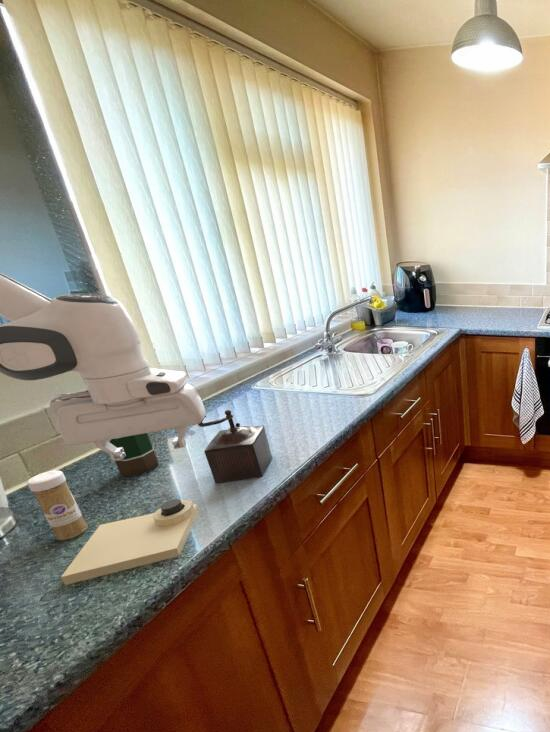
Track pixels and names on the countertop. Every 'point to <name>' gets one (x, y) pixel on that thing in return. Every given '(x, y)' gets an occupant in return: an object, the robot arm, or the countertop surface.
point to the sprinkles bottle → (58, 504)
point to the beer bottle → (136, 454)
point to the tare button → (171, 507)
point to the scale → (132, 543)
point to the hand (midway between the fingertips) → (150, 452)
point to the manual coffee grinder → (237, 451)
